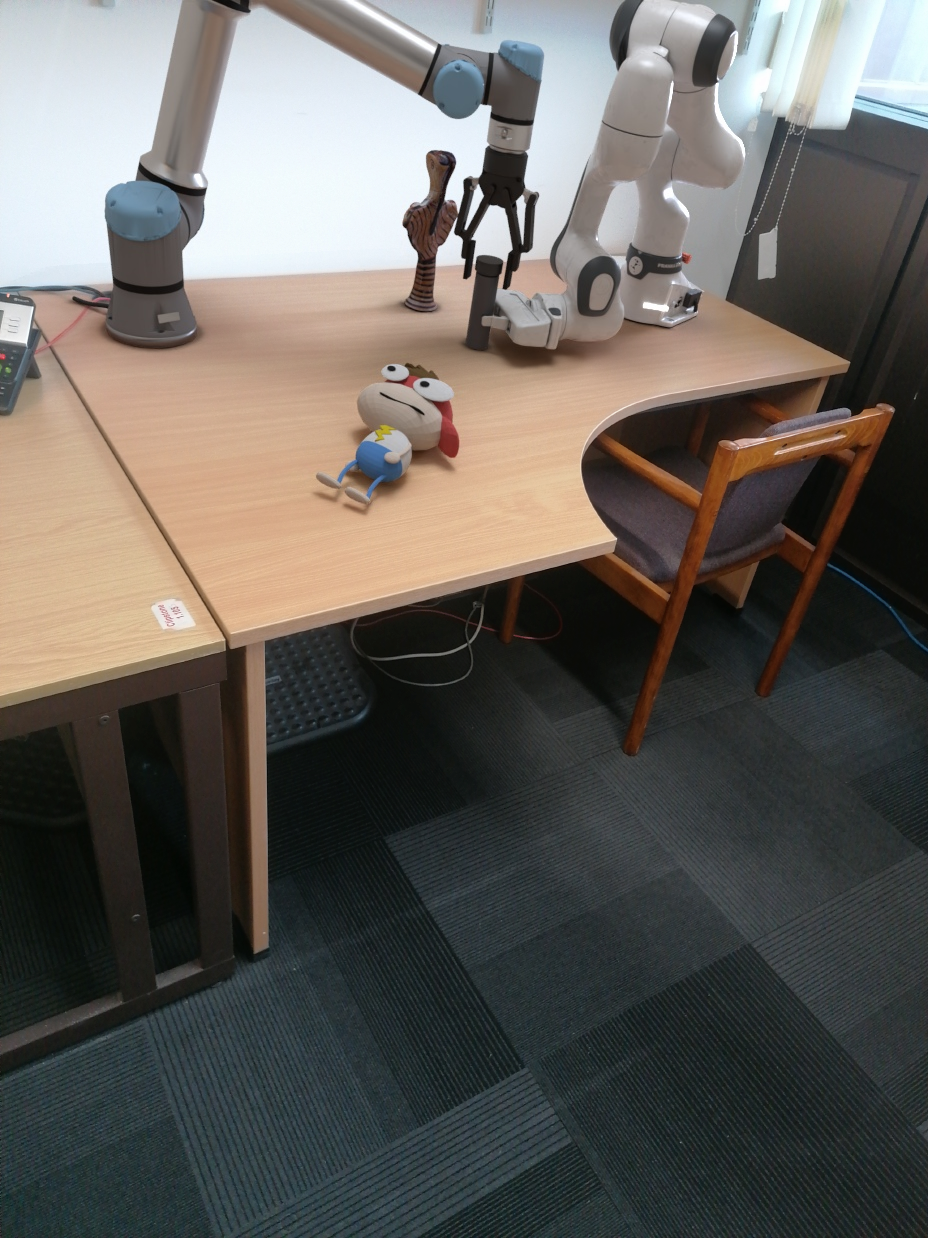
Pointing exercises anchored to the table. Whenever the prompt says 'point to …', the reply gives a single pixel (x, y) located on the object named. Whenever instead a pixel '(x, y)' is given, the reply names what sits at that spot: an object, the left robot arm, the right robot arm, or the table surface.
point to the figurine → (430, 227)
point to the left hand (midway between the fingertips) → (486, 281)
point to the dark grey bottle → (481, 310)
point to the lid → (489, 265)
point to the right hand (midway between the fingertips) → (477, 313)
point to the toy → (399, 425)
